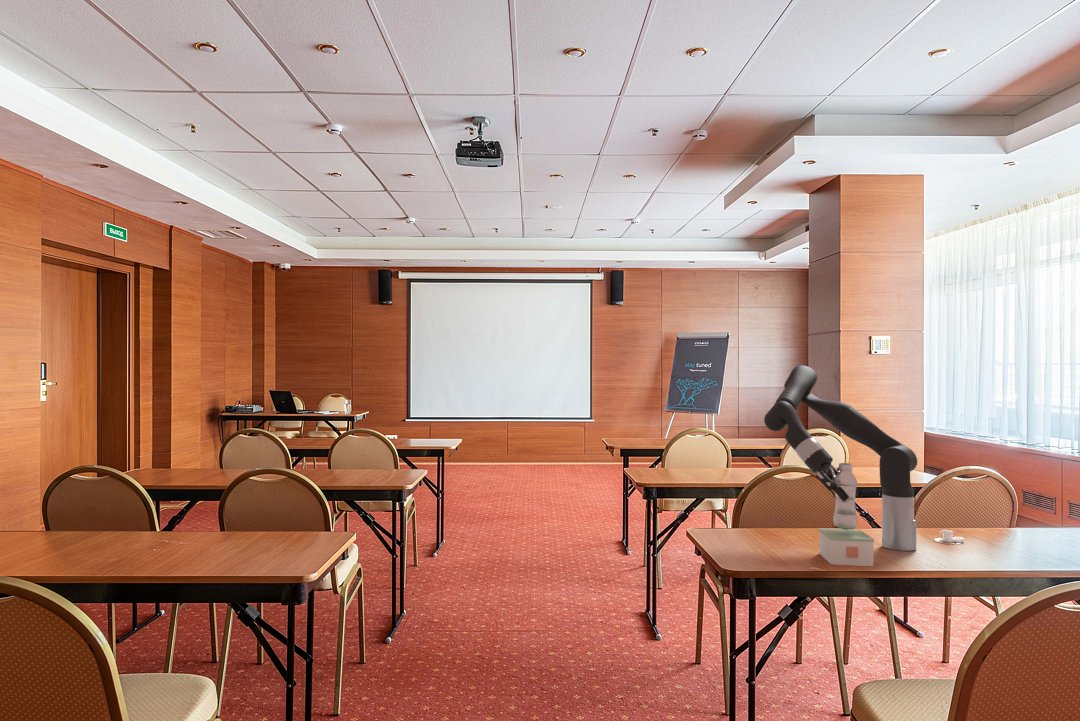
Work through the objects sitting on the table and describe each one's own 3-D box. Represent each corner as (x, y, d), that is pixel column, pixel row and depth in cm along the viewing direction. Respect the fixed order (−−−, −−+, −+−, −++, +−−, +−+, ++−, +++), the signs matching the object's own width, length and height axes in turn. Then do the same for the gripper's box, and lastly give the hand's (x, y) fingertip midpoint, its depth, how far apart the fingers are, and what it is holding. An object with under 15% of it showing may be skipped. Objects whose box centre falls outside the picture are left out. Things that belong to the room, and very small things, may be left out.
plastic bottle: (857, 532, 201) (858, 465, 201) (832, 530, 204) (833, 464, 204) (857, 528, 207) (857, 463, 207) (833, 525, 210) (833, 461, 210)
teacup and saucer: (964, 542, 230) (964, 530, 230) (964, 547, 223) (963, 535, 223) (934, 538, 235) (934, 526, 235) (933, 543, 228) (933, 531, 228)
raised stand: (859, 555, 210) (859, 529, 210) (874, 566, 198) (874, 539, 198) (818, 553, 212) (819, 528, 212) (831, 564, 199) (831, 537, 199)
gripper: (815, 460, 220) (852, 502, 211) (794, 464, 210) (832, 508, 201) (831, 445, 216) (869, 488, 207) (811, 449, 206) (850, 493, 197)
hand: (851, 497), depth 204 cm, fingers closed on plastic bottle, 6 cm apart
